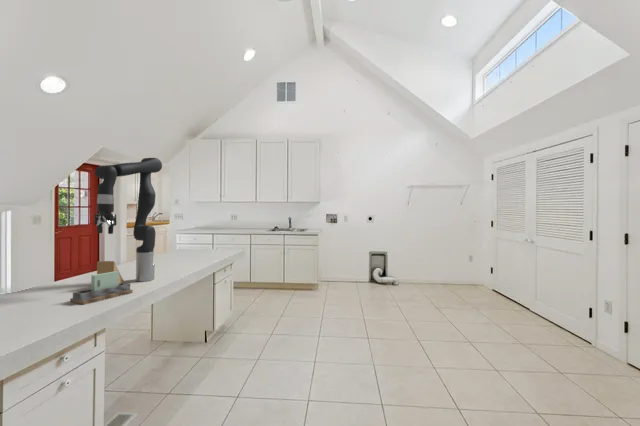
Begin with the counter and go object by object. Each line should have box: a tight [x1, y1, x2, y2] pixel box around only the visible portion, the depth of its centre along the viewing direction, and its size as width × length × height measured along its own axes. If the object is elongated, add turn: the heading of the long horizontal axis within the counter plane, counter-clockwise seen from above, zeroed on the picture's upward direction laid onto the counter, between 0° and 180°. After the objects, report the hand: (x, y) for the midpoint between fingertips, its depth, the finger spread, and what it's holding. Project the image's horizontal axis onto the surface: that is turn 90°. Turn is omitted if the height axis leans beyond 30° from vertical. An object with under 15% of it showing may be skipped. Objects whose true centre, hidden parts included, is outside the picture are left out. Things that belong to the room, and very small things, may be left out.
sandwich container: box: [96, 260, 125, 283], centre depth 188 cm, size 9×15×15 cm, turn 10°
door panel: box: [90, 271, 120, 292], centre depth 164 cm, size 12×3×10 cm, turn 157°
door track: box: [69, 282, 133, 305], centre depth 163 cm, size 24×10×4 cm, turn 157°
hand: (105, 233), depth 178 cm, fingers open, 8 cm apart
